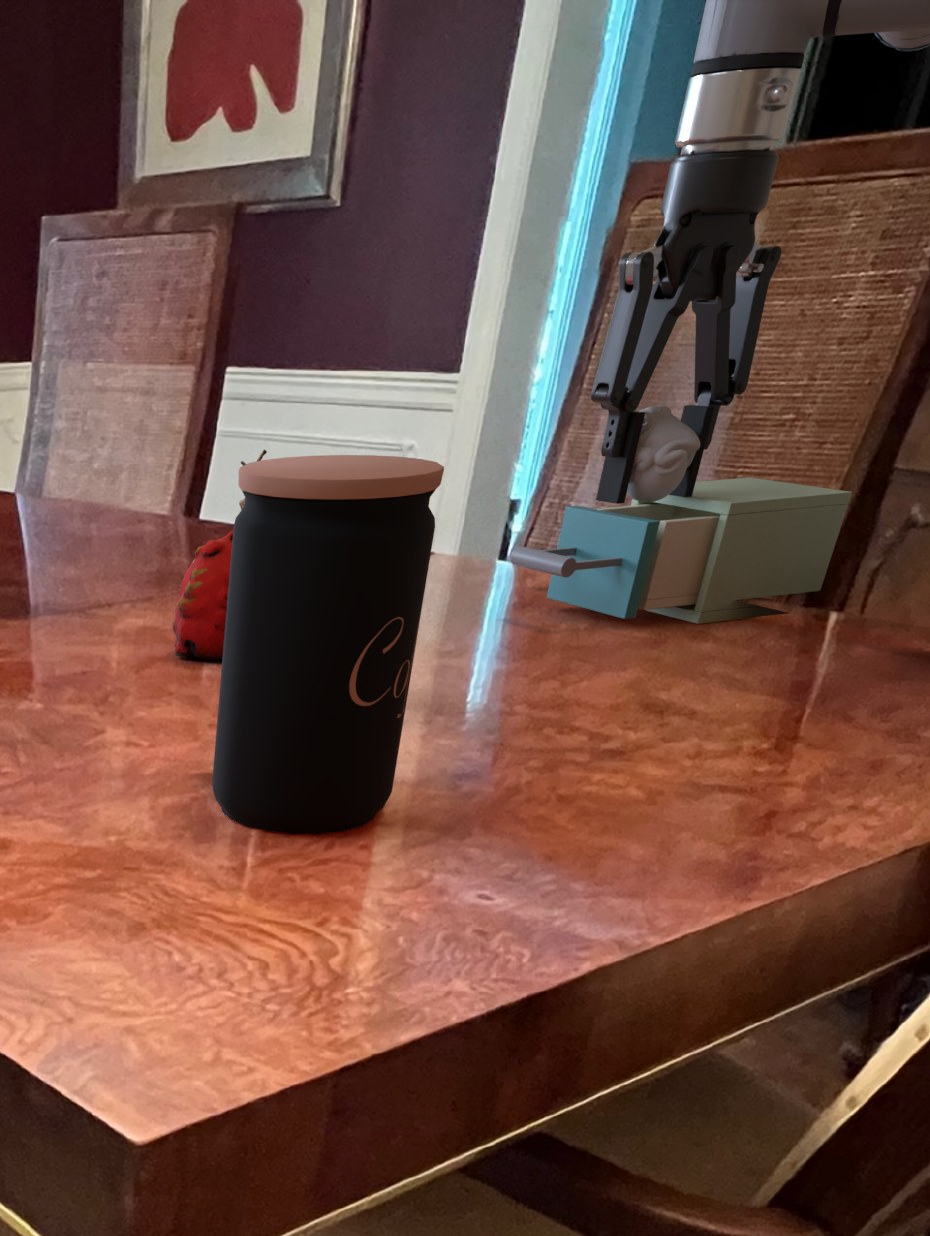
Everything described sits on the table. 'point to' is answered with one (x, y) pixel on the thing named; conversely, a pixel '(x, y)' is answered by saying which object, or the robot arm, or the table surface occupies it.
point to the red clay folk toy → (205, 600)
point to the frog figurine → (661, 455)
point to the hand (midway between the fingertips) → (643, 497)
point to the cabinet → (760, 544)
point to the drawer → (626, 557)
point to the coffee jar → (320, 638)
